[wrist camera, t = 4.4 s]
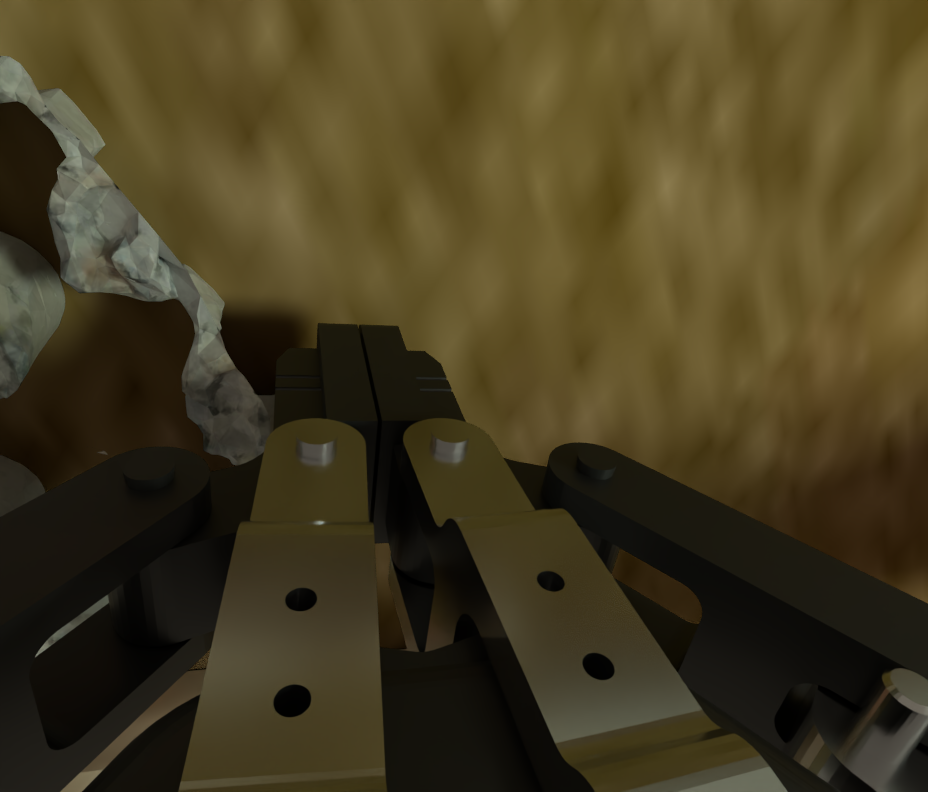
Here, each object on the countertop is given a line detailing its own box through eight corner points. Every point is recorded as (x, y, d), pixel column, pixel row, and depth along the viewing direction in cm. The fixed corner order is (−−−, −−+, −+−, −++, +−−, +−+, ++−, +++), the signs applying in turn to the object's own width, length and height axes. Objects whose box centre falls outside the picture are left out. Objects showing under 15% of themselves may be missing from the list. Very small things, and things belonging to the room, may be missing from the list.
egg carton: (351, 460, 16) (370, 581, 13) (75, 588, 16) (19, 746, 13) (48, -18, 10) (-70, -34, 7) (-390, 183, 10) (-735, 270, 7)
